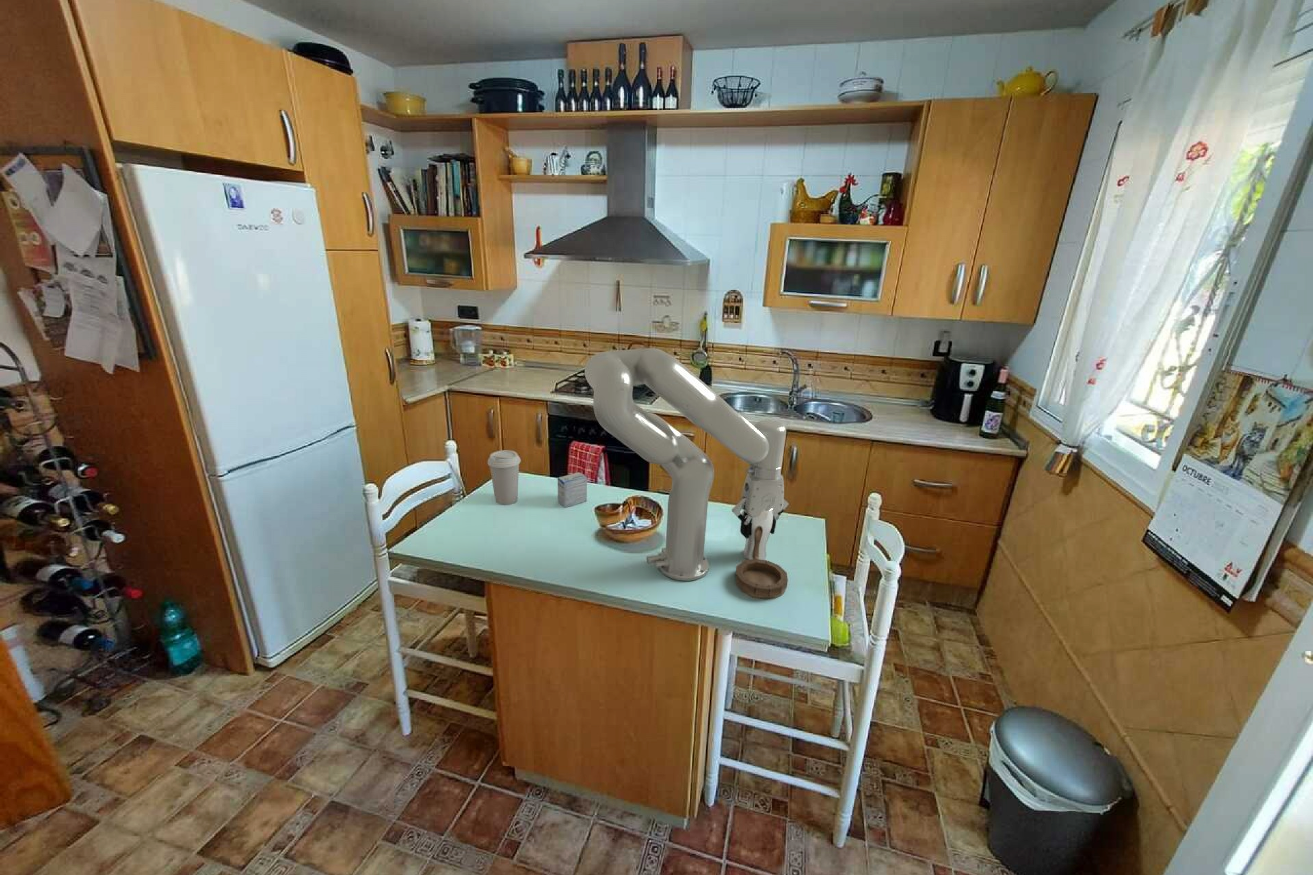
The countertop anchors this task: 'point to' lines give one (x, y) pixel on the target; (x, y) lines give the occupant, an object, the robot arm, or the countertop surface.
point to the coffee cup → (505, 476)
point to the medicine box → (572, 489)
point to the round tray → (761, 579)
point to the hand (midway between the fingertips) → (757, 533)
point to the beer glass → (758, 535)
